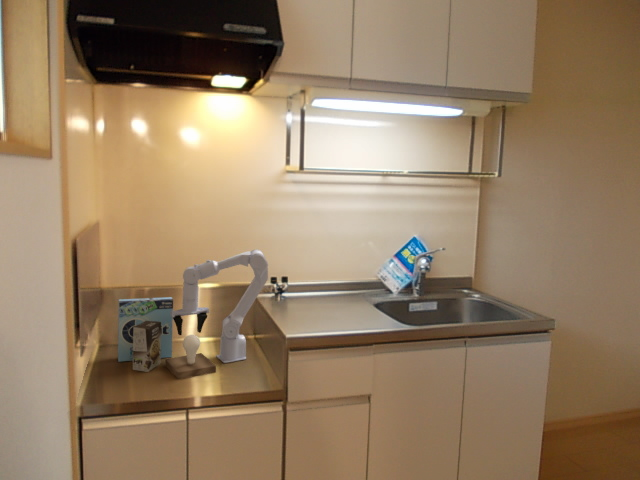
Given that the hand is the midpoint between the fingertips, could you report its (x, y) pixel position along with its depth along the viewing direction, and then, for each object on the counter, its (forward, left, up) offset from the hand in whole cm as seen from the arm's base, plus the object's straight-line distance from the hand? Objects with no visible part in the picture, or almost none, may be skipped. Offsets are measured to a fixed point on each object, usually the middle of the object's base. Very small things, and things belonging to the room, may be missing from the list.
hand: (189, 333), depth 193 cm
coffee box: (+16, 0, -11) cm, 19 cm away
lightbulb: (+3, +11, -8) cm, 14 cm away
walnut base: (+3, +9, -10) cm, 14 cm away
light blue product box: (+14, -9, -11) cm, 20 cm away
